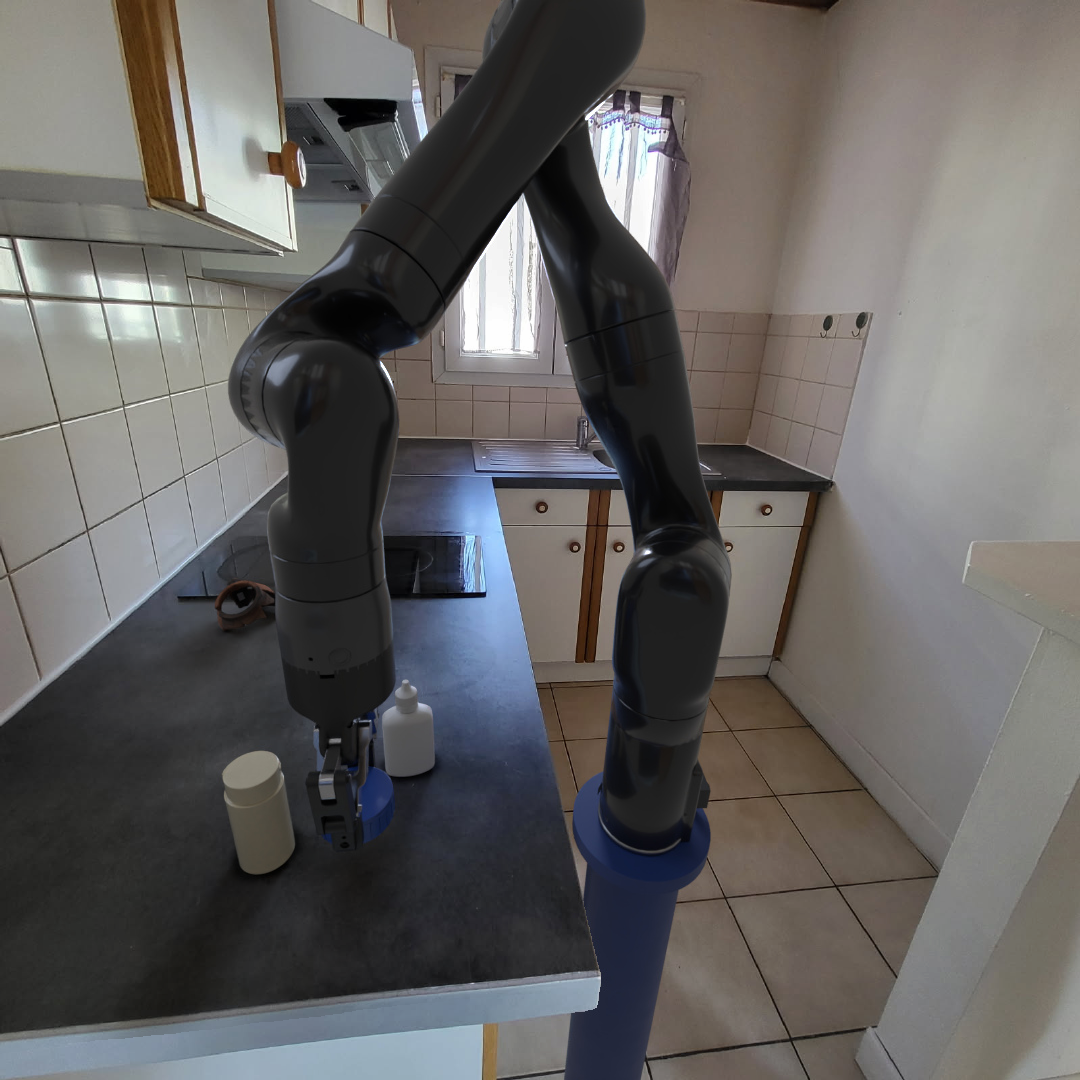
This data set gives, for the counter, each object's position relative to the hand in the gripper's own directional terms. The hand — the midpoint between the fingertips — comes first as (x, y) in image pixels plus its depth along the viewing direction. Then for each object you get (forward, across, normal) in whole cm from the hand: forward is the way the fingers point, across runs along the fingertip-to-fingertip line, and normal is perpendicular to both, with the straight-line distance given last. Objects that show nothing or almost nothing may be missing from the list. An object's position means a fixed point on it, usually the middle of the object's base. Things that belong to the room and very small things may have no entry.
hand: (356, 810), depth 46 cm
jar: (+12, -6, -10) cm, 17 cm away
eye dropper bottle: (+12, -16, +2) cm, 20 cm away
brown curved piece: (+12, -52, -27) cm, 60 cm away
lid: (-1, 0, 0) cm, 1 cm away
